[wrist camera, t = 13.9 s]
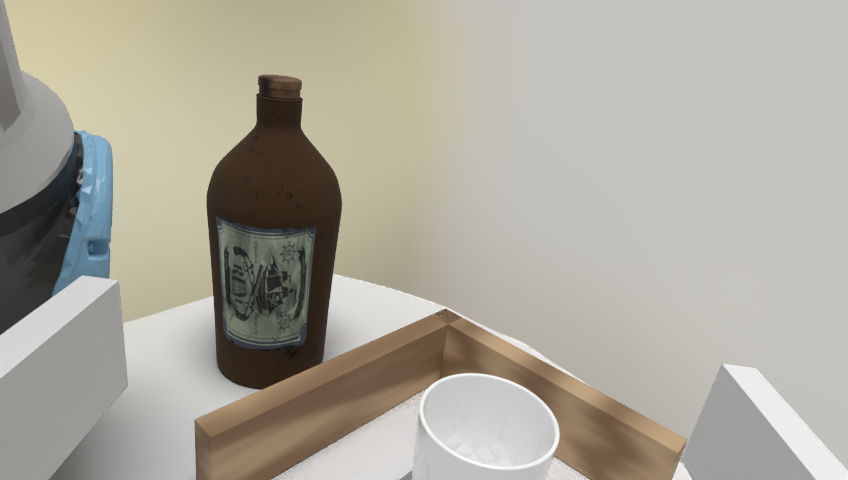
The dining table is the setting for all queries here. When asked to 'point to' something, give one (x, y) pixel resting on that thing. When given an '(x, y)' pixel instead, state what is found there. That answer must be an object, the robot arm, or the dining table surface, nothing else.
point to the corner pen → (408, 375)
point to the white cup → (483, 431)
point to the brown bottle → (272, 244)
